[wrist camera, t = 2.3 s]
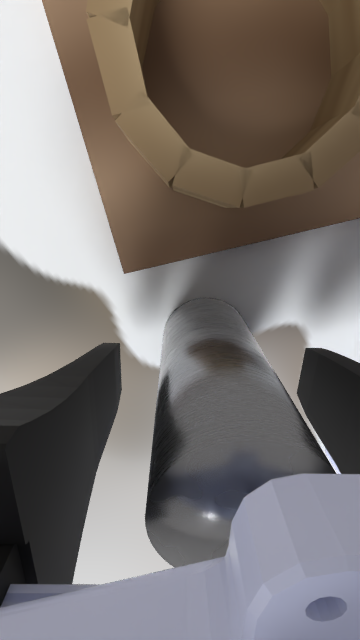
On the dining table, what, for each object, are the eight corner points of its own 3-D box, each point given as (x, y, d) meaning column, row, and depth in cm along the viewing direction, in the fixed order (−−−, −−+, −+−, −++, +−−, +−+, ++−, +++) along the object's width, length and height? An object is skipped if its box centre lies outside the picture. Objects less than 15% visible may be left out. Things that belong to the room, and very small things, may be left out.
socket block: (384, 207, 12) (473, 206, 9) (128, 268, 13) (109, 291, 9) (386, -189, 9) (545, -488, 5) (28, -73, 9) (-69, -256, 6)
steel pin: (261, 348, 15) (377, 539, 6) (192, 387, 15) (211, 605, 7) (219, 281, 13) (292, 404, 5) (146, 327, 14) (103, 500, 6)
